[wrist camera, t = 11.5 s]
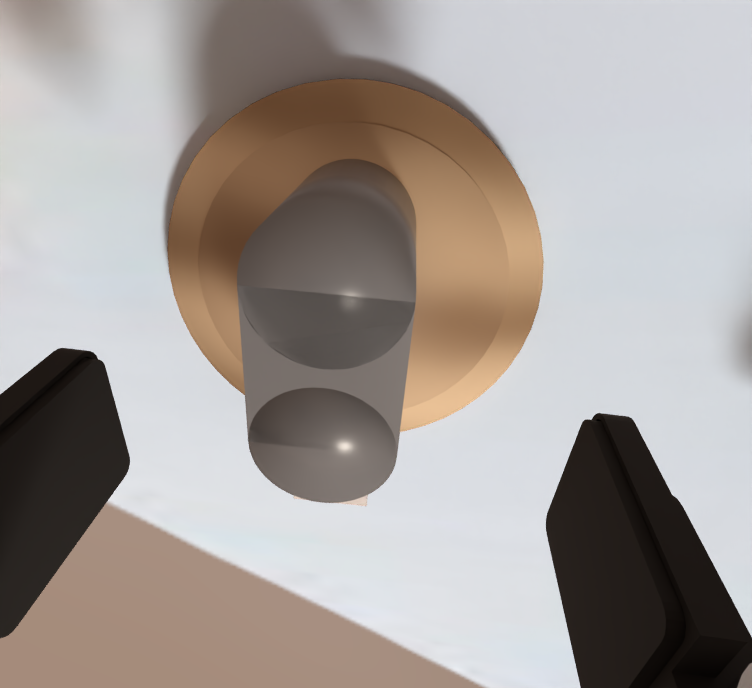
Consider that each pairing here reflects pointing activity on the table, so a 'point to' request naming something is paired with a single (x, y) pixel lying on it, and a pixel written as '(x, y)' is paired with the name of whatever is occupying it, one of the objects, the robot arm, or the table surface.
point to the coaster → (433, 228)
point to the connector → (329, 332)
